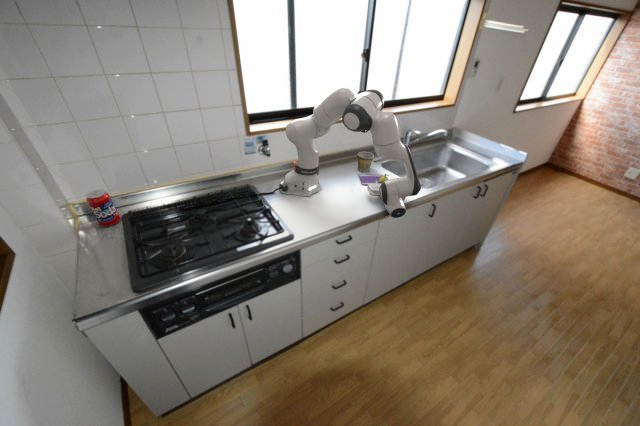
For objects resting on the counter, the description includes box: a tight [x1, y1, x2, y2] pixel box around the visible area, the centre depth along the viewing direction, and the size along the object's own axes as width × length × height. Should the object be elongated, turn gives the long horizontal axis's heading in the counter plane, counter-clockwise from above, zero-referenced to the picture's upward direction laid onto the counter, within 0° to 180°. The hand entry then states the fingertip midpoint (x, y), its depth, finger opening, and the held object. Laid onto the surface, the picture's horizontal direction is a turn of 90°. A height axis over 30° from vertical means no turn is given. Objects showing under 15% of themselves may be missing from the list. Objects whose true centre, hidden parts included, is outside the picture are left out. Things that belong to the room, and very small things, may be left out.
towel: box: [358, 174, 384, 186], centre depth 163 cm, size 15×12×1 cm
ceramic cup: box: [357, 151, 375, 173], centre depth 172 cm, size 13×10×10 cm
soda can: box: [85, 189, 121, 227], centre depth 116 cm, size 8×8×15 cm
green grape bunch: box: [379, 173, 390, 184], centre depth 150 cm, size 6×6×11 cm
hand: (383, 181), depth 151 cm, fingers closed on green grape bunch, 6 cm apart
